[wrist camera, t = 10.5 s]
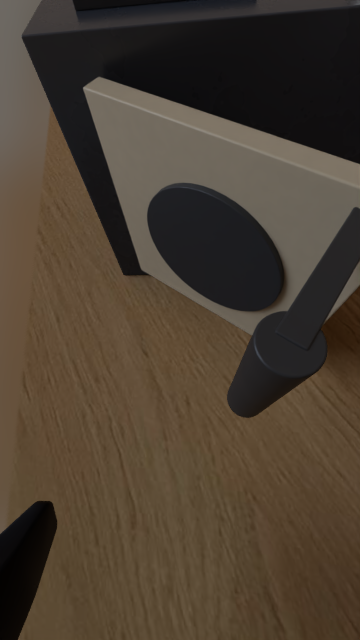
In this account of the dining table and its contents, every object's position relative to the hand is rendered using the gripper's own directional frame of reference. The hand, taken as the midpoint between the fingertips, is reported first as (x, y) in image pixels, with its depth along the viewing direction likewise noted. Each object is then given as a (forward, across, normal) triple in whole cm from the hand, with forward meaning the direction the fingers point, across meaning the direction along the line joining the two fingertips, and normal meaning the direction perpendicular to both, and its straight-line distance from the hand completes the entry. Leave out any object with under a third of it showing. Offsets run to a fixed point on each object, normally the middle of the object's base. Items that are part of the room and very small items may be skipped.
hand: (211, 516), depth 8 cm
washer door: (+9, +1, -2) cm, 9 cm away
